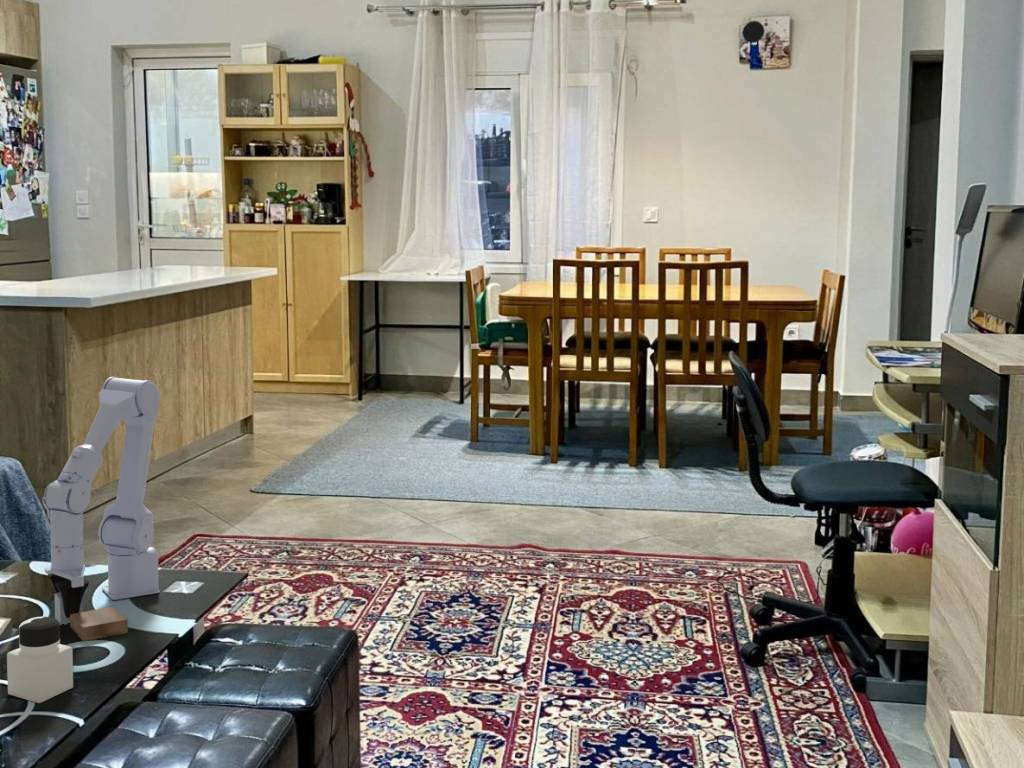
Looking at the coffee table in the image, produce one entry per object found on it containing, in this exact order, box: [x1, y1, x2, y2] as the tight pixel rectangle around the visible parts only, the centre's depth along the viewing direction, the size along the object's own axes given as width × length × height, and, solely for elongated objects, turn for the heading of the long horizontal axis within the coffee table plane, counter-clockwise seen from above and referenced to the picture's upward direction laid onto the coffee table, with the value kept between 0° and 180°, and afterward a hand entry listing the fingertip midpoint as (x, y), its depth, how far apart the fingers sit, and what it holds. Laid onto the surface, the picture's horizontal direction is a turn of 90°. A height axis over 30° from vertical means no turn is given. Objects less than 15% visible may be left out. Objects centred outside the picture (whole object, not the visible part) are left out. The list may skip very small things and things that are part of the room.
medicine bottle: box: [6, 616, 74, 704], centre depth 180 cm, size 7×7×12 cm
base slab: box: [69, 606, 129, 642], centre depth 207 cm, size 8×8×3 cm
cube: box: [54, 592, 83, 626], centre depth 211 cm, size 4×4×5 cm
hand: (68, 612), depth 211 cm, fingers closed on cube, 4 cm apart
